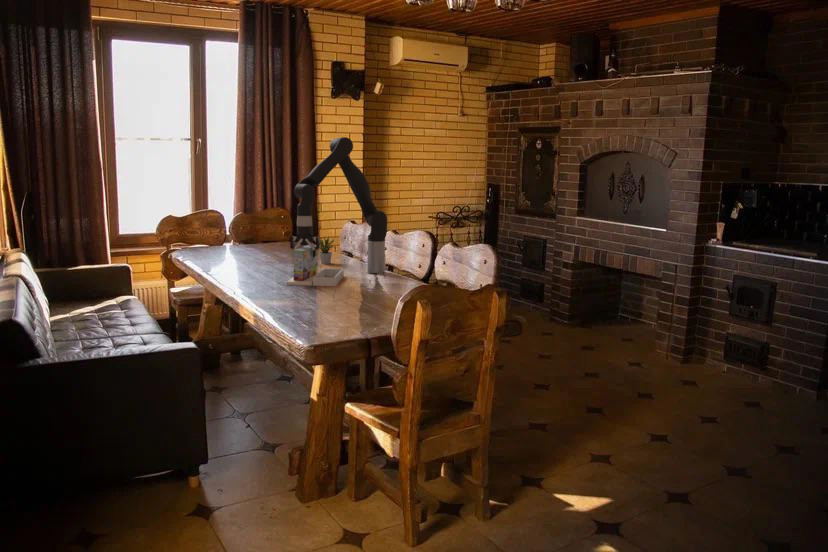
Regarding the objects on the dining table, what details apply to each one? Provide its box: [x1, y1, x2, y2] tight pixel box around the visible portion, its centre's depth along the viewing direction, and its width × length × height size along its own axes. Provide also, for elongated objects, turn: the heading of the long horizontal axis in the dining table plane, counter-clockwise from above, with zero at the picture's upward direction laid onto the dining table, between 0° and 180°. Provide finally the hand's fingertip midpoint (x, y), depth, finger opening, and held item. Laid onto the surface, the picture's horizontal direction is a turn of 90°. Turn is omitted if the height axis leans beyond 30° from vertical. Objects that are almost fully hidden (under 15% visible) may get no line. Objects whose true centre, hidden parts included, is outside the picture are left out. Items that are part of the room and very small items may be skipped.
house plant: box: [319, 235, 338, 265], centre depth 395 cm, size 14×14×16 cm
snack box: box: [293, 244, 318, 281], centre depth 345 cm, size 21×6×15 cm, turn 170°
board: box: [286, 275, 315, 286], centre depth 347 cm, size 12×26×2 cm, turn 176°
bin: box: [312, 267, 345, 287], centre depth 346 cm, size 11×26×4 cm, turn 176°
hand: (305, 257), depth 345 cm, fingers open, 8 cm apart
